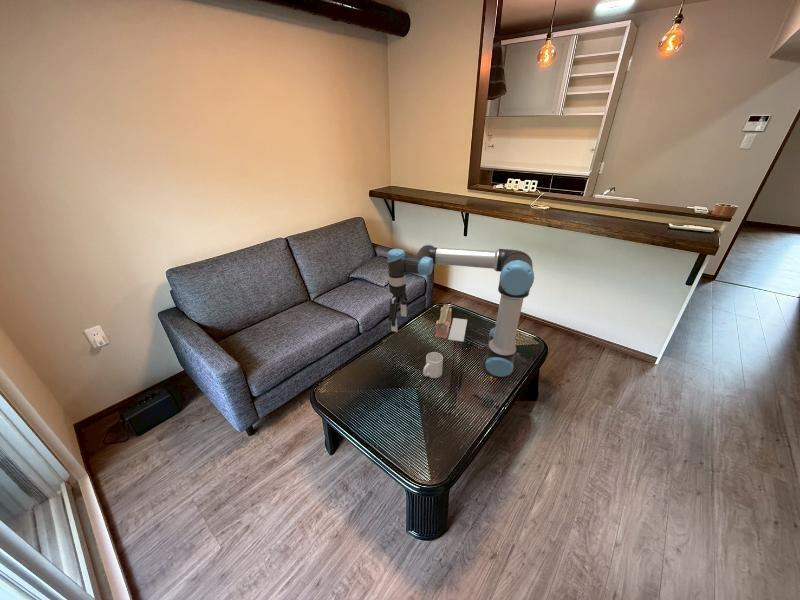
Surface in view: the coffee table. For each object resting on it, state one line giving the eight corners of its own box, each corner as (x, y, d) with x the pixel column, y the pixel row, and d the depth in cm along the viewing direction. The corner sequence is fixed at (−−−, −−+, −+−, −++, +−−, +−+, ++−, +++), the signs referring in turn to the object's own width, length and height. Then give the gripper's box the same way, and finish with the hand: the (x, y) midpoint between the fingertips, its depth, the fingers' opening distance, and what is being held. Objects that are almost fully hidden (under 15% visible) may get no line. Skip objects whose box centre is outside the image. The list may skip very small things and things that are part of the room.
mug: (429, 385, 147) (429, 368, 142) (417, 376, 153) (417, 360, 148) (445, 373, 154) (446, 357, 149) (433, 365, 160) (434, 349, 155)
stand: (451, 319, 198) (452, 307, 193) (446, 338, 180) (447, 325, 176) (440, 318, 199) (441, 306, 195) (435, 336, 182) (435, 324, 178)
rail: (449, 309, 195) (449, 305, 193) (443, 328, 177) (444, 323, 175) (443, 309, 196) (444, 304, 194) (438, 327, 178) (438, 322, 176)
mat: (467, 320, 196) (467, 319, 196) (463, 342, 176) (463, 341, 176) (453, 318, 199) (453, 318, 198) (447, 340, 178) (448, 339, 178)
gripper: (398, 271, 147) (400, 309, 158) (378, 295, 127) (382, 336, 137) (413, 273, 145) (414, 311, 155) (395, 297, 125) (397, 339, 135)
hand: (399, 323), depth 146 cm, fingers open, 13 cm apart
